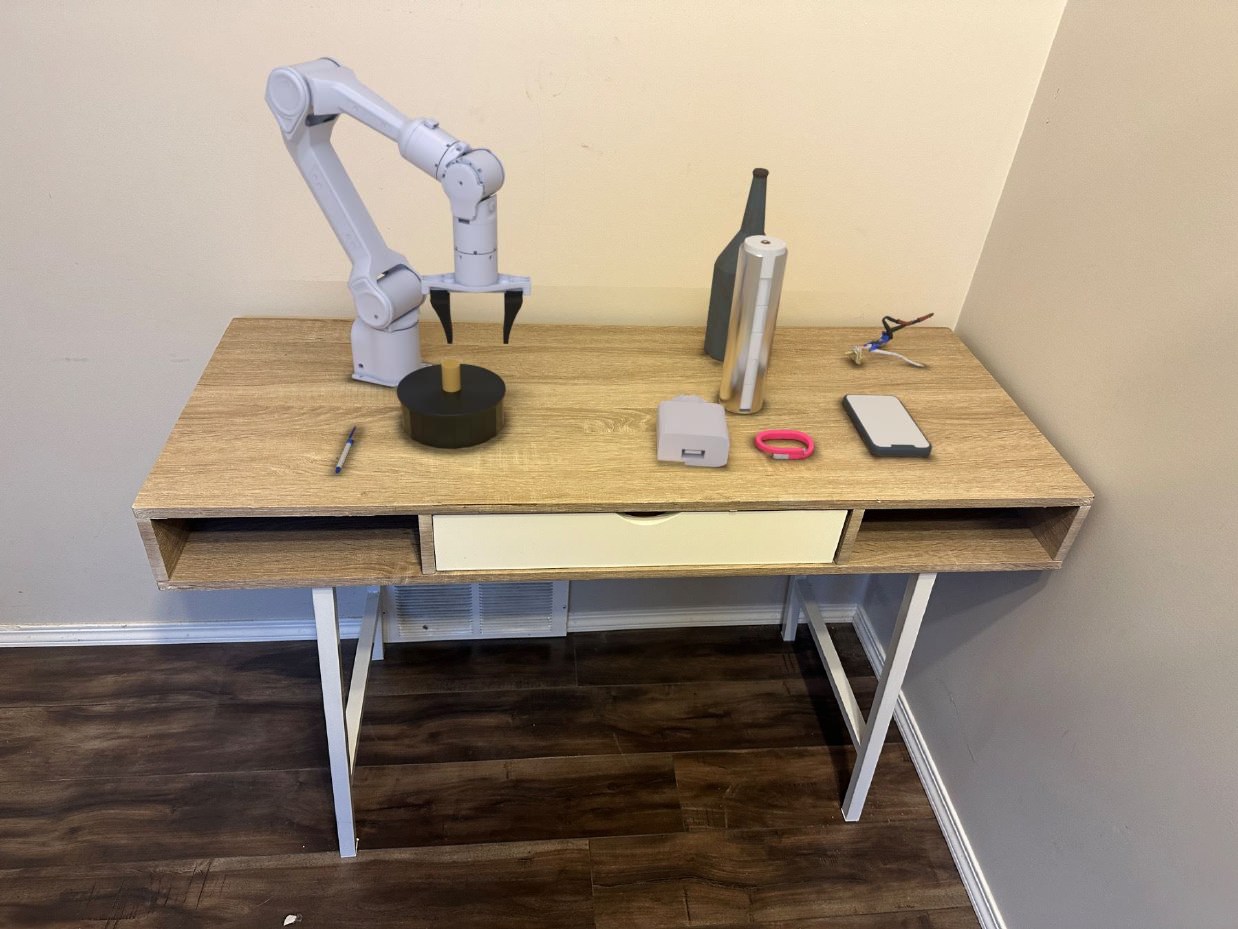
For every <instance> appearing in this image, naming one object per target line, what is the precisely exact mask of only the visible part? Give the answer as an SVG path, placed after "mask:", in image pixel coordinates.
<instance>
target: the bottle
mask: <svg viewBox="0 0 1238 929" xmlns="http://www.w3.org/2000/svg"><path fill="white" fill-rule="evenodd" d="M769 174H770V170H768V169H767V168H763V167H754V168H753V170H752V180H751V183H750V188H749V192H748V196H747V199H746V204H745V209H744V211H743V212H744V213H743V217H742V220H741V225H740V229H739V230H738V231H737V232H736V234H735V235H734V236H733V238H732V239H731V240H730V241H729V243H727V245H726V246H725V247H724V249H723V250H722V251H721V252H720V253H719V255H718V256H717V257H716V260H715V262H714V263H713V272H712V277H711V278H712V280H711V289H710V296H709V302H708V303H709V304H708V311H707V318H706V319H707V320H706V328H705V336H704V343H703V350H704V352H705V354H706V355H709V356H710V357H711V358H712V360H716V361H719V362H722V363H724V357H725V350H726V342H727V335H728V328H729V321H730V313H731V306H732V299H733V292H734V285H735V277H736V270H737V263H738V256H739V248H740V245H741V244H742V243H743V242H744V241H745V239H746V238H748V237H750V236H757V235H763V236H767V234H766V231H765V228H766V208H767V190H768V188H767V186H768V176H769Z"/></svg>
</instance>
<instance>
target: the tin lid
mask: <svg viewBox="0 0 1238 929" xmlns="http://www.w3.org/2000/svg"><path fill="white" fill-rule="evenodd" d="M431 365H432V366H428V365H427V366H428V367H424V368H421V369H418V370H416V371H413V372H411V373H410V374H408V375H406V376H405V377H404V378H403V379H402V380H401V381H400V382H399V384H398V386H396V396H397V399H398V401H399V403H400V405H401V404H402V405H403V406H405V407H406V408H407V409H409V410H411V411H413V412H415V413H418V414H421V415H424V416H429V417H435V418H464V417H470V416H474V415H478V414H481V413H484V412H487V411H489V410H491V409H493V408H494V407H496V406H497V405H498V404H500V402H501V401H502V400H503V399H504V400H505V397H506V393H507V387H506V383H505V381H504V379H503V378H502V377H501V376H500V375H499V374H497V373H495V371H492V370H491V369H487V368H485V367H482V366H479V365H474V364H468V363H460V362H459V361H458V360H454V359H448V360H444V361H442V362H441V363H439V364H431Z"/></svg>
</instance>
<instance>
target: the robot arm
mask: <svg viewBox="0 0 1238 929" xmlns="http://www.w3.org/2000/svg"><path fill="white" fill-rule="evenodd" d="M265 87H266V89H265V93H264V101H265V103H266V104H267V106H268V108H269V110H270V111H271V113H272V115H273V116H274V118H275V120H276V122H277V124H278V126H279V129H280V133H281V137H282V141H283V144H284V145H285V148H286V150H287V151H288V153H289V156H290V157H291V158H292V161H293V162H294V164H295V166H296V168H297V169H298V171H299V173H300V175H301V177H302V179H303V181H304V182H305V184H306V185H307V188H308V189H309V191H310V192H311V194H312V196H313V198H314V200H315V201H316V203H317V205H318V206H319V209H320V210H321V212H322V214H323V215H324V217H325V219H326V221H327V223H328V225H329V226H330V228H331V230H332V231H333V233H334V235H335V237H336V238H337V240H338V243H339V244H340V246H341V248H342V249H343V251H344V253H345V254H346V257H347V259H348V260H349V262H350V264H351V265H352V267H351V271H350V274H349V277H348V280H347V284H346V286H347V288H348V290H349V291H350V293H351V295H352V299H353V304H354V309H355V311H356V313H357V317H356V318H355V319H354V321H353V322H352V326H351V329H350V345H351V354H352V363H353V371H354V373H353V374H351V378H352V379H353V380H358V381H362V382H367V383H371V384H375V385H379V386H384V387H385V386H386V387H391V388H395V387H397V386H398V384H399V382H400V381H401V380H402V379H403V378H404V377H405V376H406V375H408V374H410V373H411V372H413V371H416V370H418V369H421V368H424V367H428V366H432V365H433V364H430V363H427V362H422V348H421V334H420V333H421V332H420V320H419V319H420V318H419V317H420V316H419V315H420V314H421V306H423V304H424V303H425V302H426V300H427V298H428V295H429V297H430V298H429V302H430V305H431V307H432V309H433V310H434V312H435V314H436V316H437V317H438V319H439V321H440V323H441V325H442V328H443V331H444V334H445V338H446V343H447V344H448V345H453V341H454V333H453V332H454V331H453V322H452V313H451V312H452V310H451V293H452V294H453V293H456V294H457V293H459V294H466V293H467V294H503V312H504V314H503V327H502V341H503V345H509V341H510V335H511V331H512V328H513V325H514V323H515V320H516V317H517V316H518V314H519V313H520V310H521V308H522V306H523V303H524V296H531V295H532V280H531V279H532V278H531V276H524V275H514V274H508V273H503V272H502V273H501V272H499V261H498V260H499V255H498V252H499V251H498V246H499V244H498V194H497V192H499V191H500V190H501V189H502V187H503V185H504V184H505V180H506V172H505V167H504V165H503V163H502V161H501V159H500V158H499V157H498V156H497V154H495V153H494V152H493V151H492V150H491V149H490V148H488V147H483V146H481V147H476V148H474V147H471V144H470V143H469V142H468V141H466V140H460V139H458V138H456V136H454V135H452V134H450V133H449V132H448V131H446V130H444V129H443V128H441V127H440V122H439V121H438V120H437V119H435V118H433V117H430V118H426V117H423V116H421V117H416V118H414V119H411V118H410V117H408V116H407V115H406V114H404V113H403V112H402V111H400V110H399V109H398V108H397V107H396V106H394V105H393V104H391V103H390V102H388V101H387V100H386V99H384V98H383V97H381V95H379V94H378V93H376V92H375V91H374V90H372V89H371V88H370V87H368V86H367V85H366V84H365V83H363V82H362V81H360V80H359V79H358V78H357V76H356V73H355V71H354V70H353V69H352V68H351V67H348V66H347V65H343V64H342V63H341V62H340V61H338V60H337V59H336V58H334V57H331V56H322V57H320V58H317V59H314V60H310V61H309V60H308V61H305V62H299V63H296V64H291V65H279V66H276V67H273V69H272V70H271V71H270V73H269V74H268V77H267V81H266V86H265ZM342 114H345V115H347V116H349V117H351V118H353V119H354V120H356V121H357V122H359V123H361V124H363V125H364V126H367V127H369V128H370V129H371V130H374V131H375V132H377V133H378V134H380V135H382V136H384V137H386V138H387V139H389V140H391V141H393V142H395V143H396V144H397V147H398V151H399V154H400V156H401V158H402V159H404V160H406V161H407V162H409V163H410V164H411V165H413V166H414V167H416V168H417V169H419V170H421V171H422V172H423V173H424V174H427V175H428V176H430V177H431V178H432V179H434V180H436V181H437V182H438V183H440V184H441V187H442V190H443V192H444V194H445V196H446V197H447V198H448V201H449V204H450V213H451V214H452V215H451V216H452V239H453V242H452V243H453V266H454V271H453V272H448V273H447V272H446V273H439V274H427V275H425V274H424V275H423V274H422V275H421V273H419V271H417V270H416V269H415V268H414V267H413V266H412V265H411V264H410V263H409V260H408V258H407V257H406V256H405V254H402V253H400V252H398V251H396V250H393V249H392V248H389V247H388V245H387V243H386V242H385V240H384V238H383V236H382V234H381V232H380V230H379V229H378V227H377V225H376V224H375V221H374V220H373V218H372V216H371V214H370V212H369V211H368V209H367V207H366V205H365V203H364V201H363V200H362V197H361V196H360V194H359V192H358V190H357V189H356V187H355V185H354V183H353V181H352V179H351V178H350V176H349V174H348V172H347V170H346V169H345V166H344V165H343V163H342V161H341V160H340V158H339V155H338V154H337V152H336V150H335V148H334V147H333V145H332V143H331V137H332V132H333V130H334V127H335V125H336V123H337V122H338V120H339V119H340V116H341V115H342ZM380 275H383V276H381V277H379V276H380ZM378 277H379V278H378Z"/></svg>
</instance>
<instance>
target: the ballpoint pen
mask: <svg viewBox="0 0 1238 929" xmlns="http://www.w3.org/2000/svg"><path fill="white" fill-rule="evenodd" d="M356 428H357V426H354V427H353V428H352V430H351V432H350V434H349V436H348V439H347V440H346V444H345V446H344V449H343V451H342V453H341V455H340V458H339V460H338V462H337V464H336V467H335V470H334V472H335V473H336V474H338V473H339V472H340V471H341V470H342V467H343V465H344V463H345V461H346V459H347V456H348V454H349V452H350V449H351V448H352V446H353V444H354V441H355V440H354V439H351V438H352V436H353V434H354V431H355V430H356Z"/></svg>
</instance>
